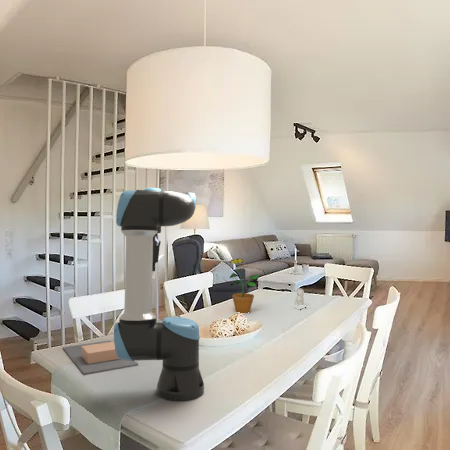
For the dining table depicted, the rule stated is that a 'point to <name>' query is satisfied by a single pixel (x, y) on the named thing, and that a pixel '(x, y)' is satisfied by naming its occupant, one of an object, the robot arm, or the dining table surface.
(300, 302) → the seated beast figurine
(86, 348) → the tan and teal block
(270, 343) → the dining table surface
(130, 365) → the mat
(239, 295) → the potted plant
